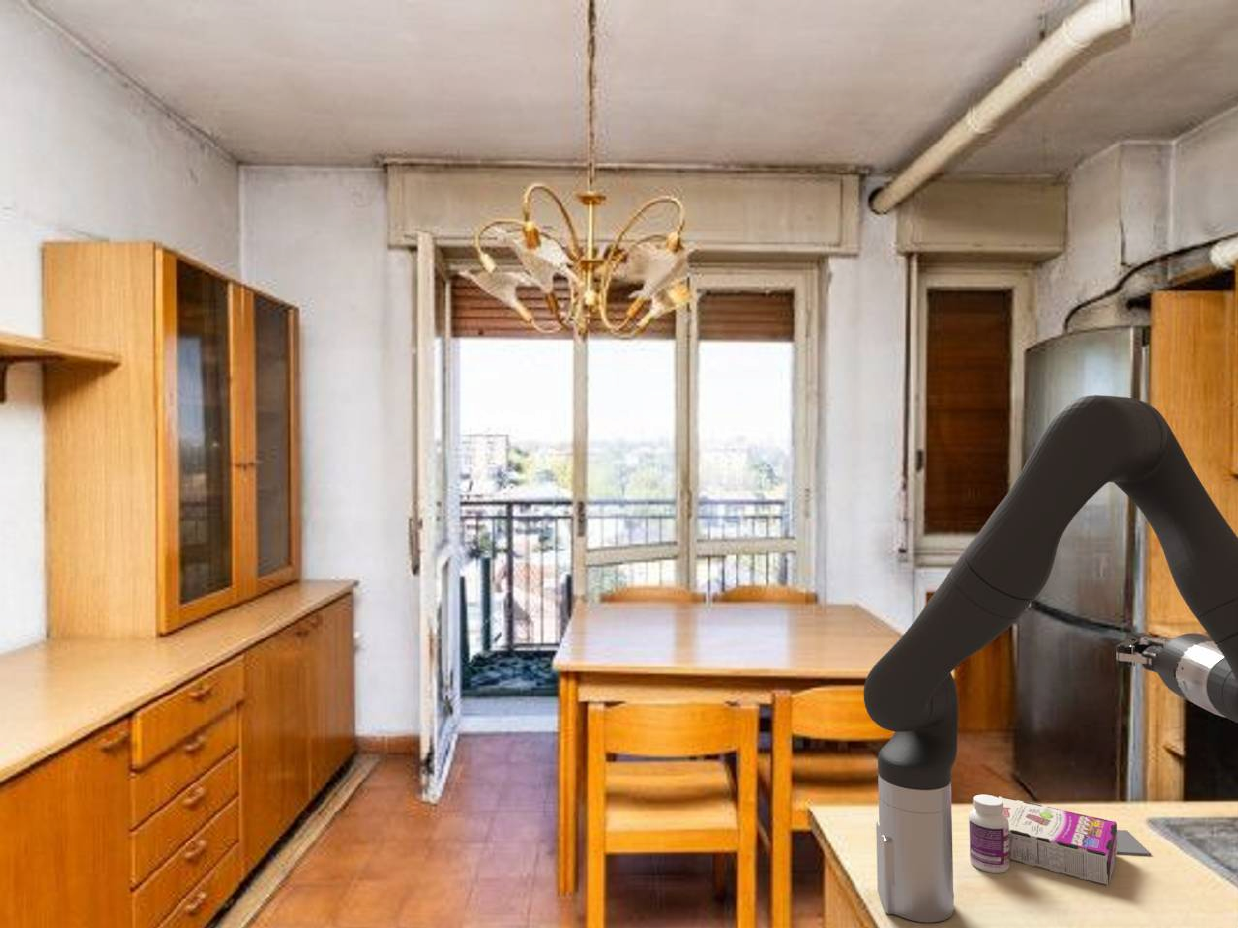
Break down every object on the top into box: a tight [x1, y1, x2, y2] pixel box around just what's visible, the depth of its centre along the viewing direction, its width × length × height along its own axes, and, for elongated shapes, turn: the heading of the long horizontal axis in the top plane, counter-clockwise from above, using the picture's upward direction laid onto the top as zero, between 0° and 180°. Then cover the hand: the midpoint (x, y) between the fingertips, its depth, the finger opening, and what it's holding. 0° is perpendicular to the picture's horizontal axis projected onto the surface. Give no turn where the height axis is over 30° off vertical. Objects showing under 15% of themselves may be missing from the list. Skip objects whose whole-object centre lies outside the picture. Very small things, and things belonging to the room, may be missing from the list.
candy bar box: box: [998, 795, 1118, 887], centre depth 118 cm, size 11×5×16 cm
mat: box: [1116, 829, 1152, 857], centre depth 121 cm, size 11×8×1 cm
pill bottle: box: [968, 794, 1010, 874], centre depth 115 cm, size 5×5×10 cm
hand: (1135, 640), depth 101 cm, fingers closed
